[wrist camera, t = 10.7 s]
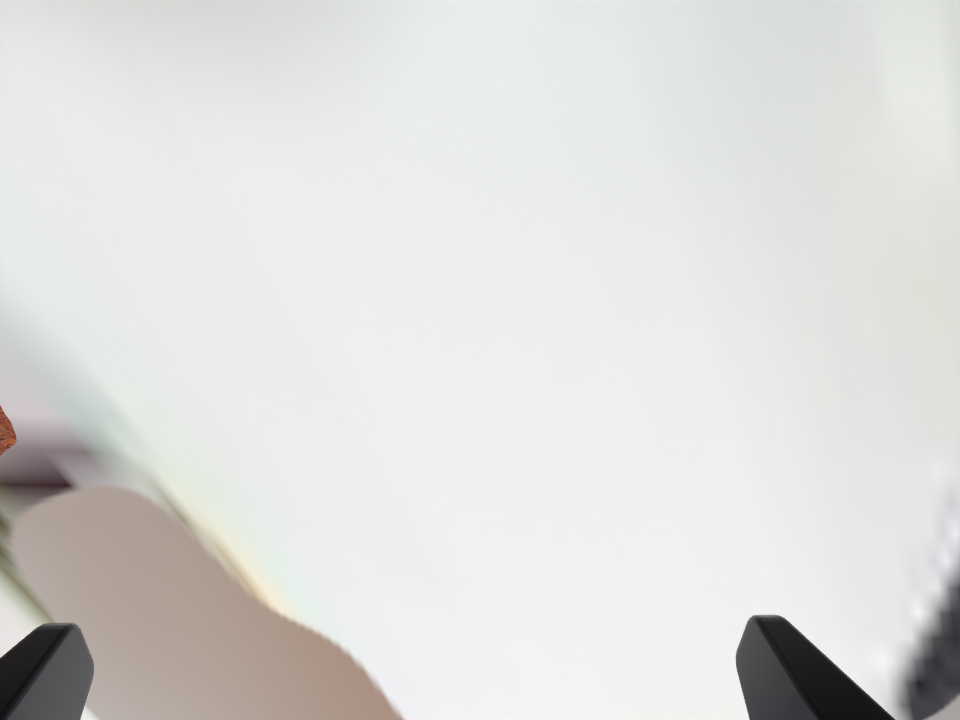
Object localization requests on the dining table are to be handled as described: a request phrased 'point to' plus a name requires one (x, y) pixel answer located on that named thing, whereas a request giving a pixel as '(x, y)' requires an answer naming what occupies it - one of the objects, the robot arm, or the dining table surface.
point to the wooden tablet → (6, 433)
